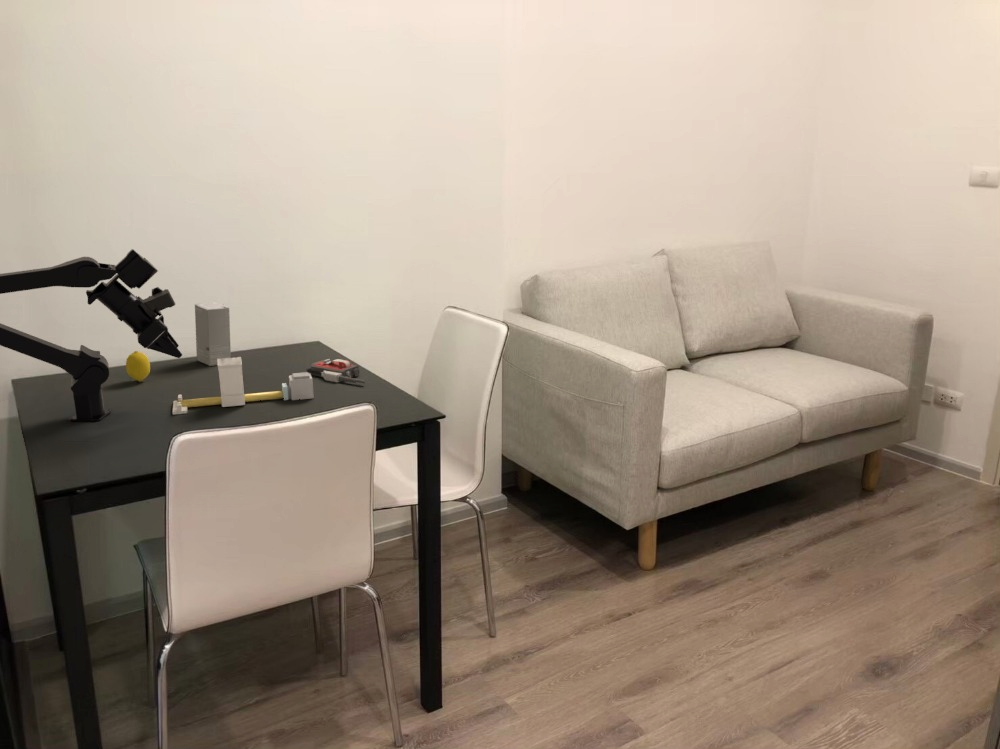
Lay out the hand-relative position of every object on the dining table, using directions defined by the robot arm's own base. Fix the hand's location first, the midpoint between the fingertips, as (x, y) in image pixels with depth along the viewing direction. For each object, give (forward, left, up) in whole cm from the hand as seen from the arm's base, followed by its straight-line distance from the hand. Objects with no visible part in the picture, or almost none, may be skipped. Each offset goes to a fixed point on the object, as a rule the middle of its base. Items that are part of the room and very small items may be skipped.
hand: (179, 351), depth 188 cm
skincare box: (+38, +5, -13) cm, 40 cm away
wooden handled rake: (+1, -11, -13) cm, 17 cm away
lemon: (+19, +18, -13) cm, 29 cm away
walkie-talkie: (+22, -32, -13) cm, 41 cm away
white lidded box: (+1, -11, -13) cm, 17 cm away
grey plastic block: (+6, -25, -13) cm, 28 cm away
